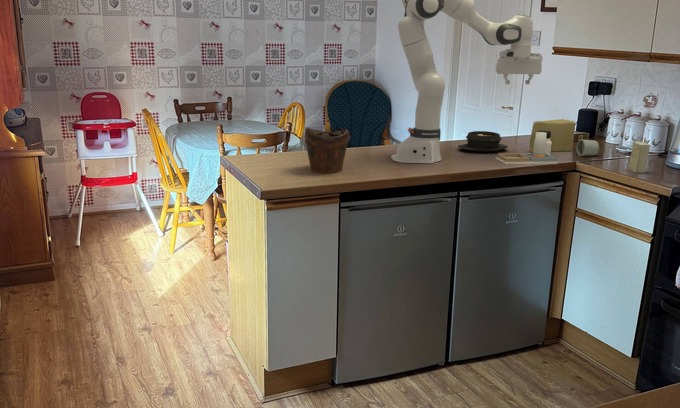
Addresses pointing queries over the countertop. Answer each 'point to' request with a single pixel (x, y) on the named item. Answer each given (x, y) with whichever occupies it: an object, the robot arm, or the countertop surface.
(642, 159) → the skincare box
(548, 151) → the medicine bottle
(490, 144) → the casserole
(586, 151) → the ceramic mug
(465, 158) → the countertop surface
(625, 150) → the countertop surface
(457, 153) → the countertop surface
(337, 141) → the wooden bucket
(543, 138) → the sleeve
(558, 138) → the cheese
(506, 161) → the seat plate
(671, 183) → the countertop surface
